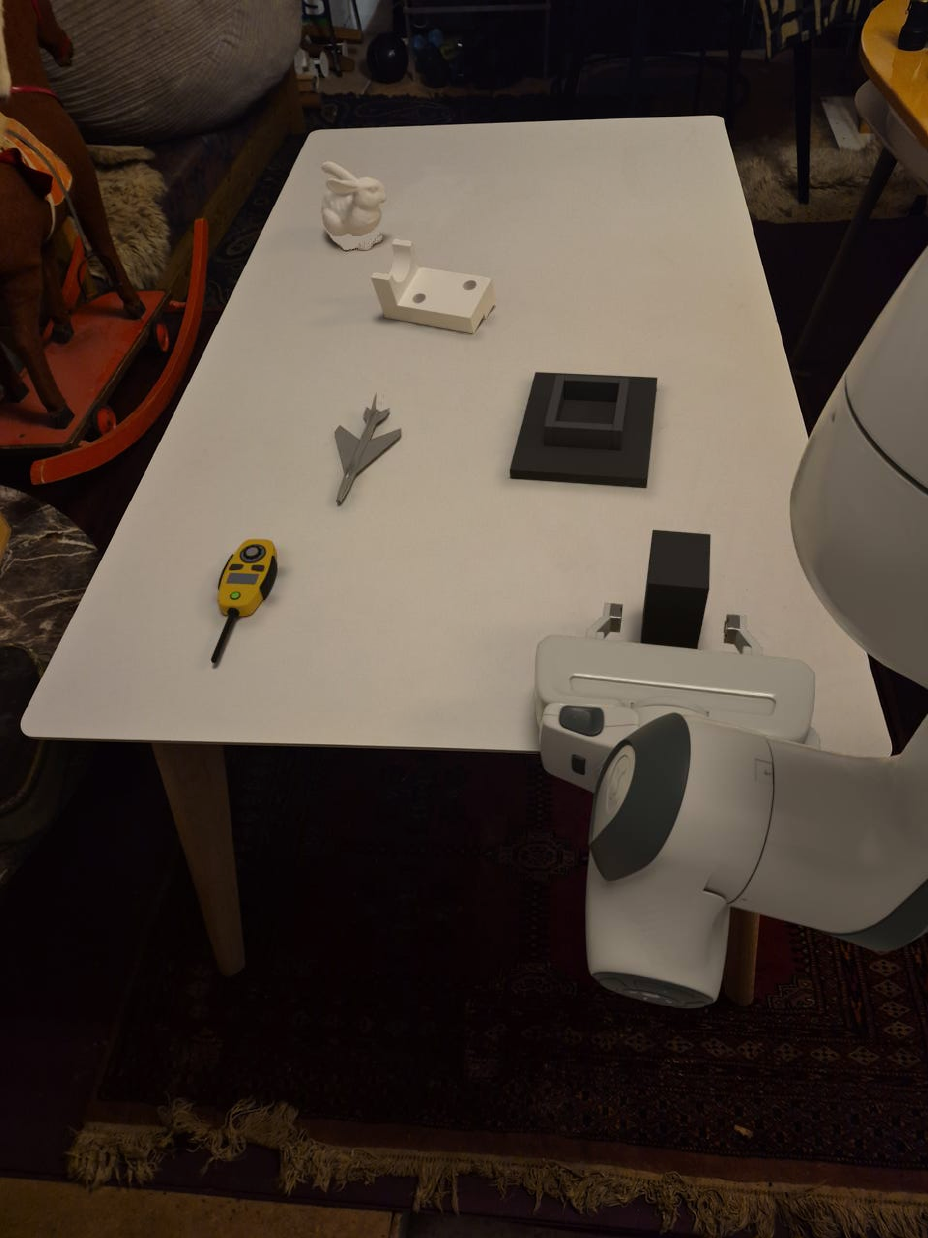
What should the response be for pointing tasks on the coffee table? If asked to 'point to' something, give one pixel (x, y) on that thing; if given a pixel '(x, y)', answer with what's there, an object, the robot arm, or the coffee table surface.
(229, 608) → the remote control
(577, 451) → the base pad
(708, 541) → the pad block
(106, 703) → the coffee table surface
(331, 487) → the coffee table surface
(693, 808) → the robot arm
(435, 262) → the coffee table surface
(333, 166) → the rabbit
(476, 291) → the bracket
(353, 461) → the toy airplane
